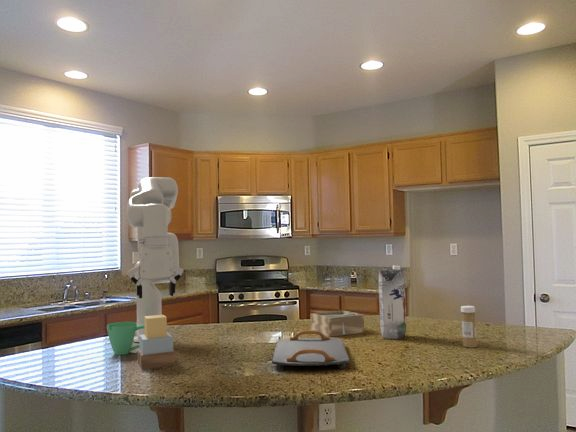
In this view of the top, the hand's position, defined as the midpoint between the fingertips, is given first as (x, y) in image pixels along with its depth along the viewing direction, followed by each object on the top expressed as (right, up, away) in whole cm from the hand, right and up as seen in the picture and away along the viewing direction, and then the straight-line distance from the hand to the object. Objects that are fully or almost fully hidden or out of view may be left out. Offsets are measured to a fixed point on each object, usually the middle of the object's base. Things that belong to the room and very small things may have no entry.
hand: (156, 296), depth 152 cm
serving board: (+49, -20, +1) cm, 53 cm away
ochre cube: (0, -12, -2) cm, 12 cm away
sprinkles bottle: (+103, -19, +10) cm, 105 cm away
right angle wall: (+62, -22, +45) cm, 80 cm away
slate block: (0, -17, -2) cm, 17 cm away
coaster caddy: (+62, -22, +45) cm, 79 cm away
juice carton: (+82, -21, +30) cm, 90 cm away
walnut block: (+1, -21, -2) cm, 21 cm away
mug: (-13, -22, +15) cm, 30 cm away
